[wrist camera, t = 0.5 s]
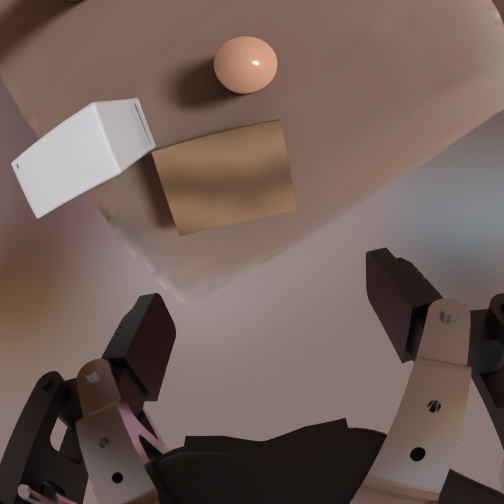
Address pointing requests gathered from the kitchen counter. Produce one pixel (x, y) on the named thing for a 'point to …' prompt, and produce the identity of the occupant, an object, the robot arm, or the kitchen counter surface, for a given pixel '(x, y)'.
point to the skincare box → (83, 153)
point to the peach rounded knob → (245, 65)
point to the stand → (226, 177)
